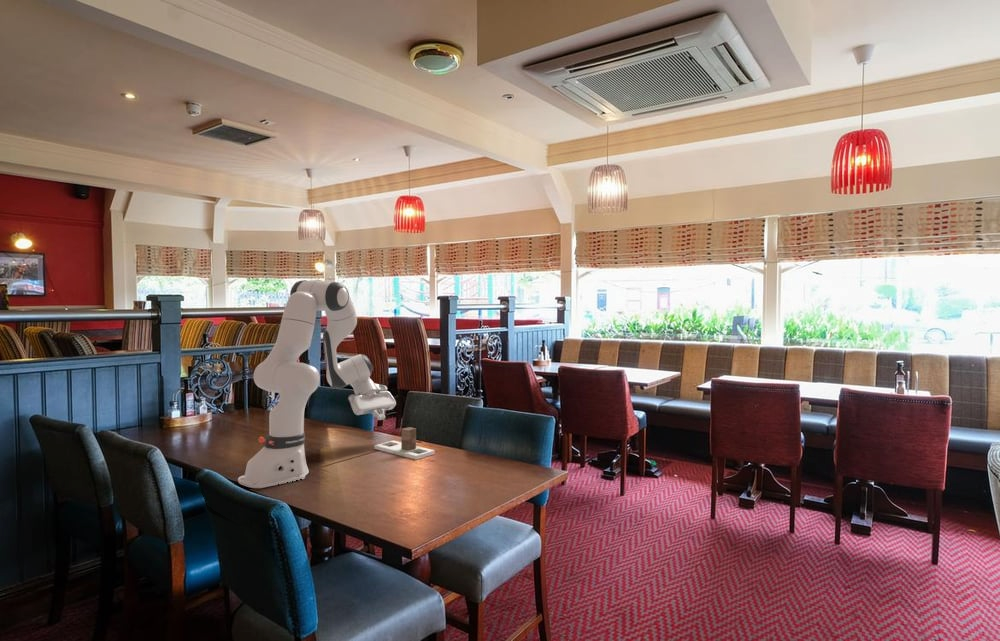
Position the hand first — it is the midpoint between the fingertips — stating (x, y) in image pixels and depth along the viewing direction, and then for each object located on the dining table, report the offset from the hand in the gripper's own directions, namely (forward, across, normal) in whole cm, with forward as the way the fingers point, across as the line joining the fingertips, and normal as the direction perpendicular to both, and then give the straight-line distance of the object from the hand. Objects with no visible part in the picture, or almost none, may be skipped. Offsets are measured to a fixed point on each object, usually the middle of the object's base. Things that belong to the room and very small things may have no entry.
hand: (382, 418), depth 229 cm
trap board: (+17, +1, -1) cm, 17 cm away
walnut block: (+18, +1, -4) cm, 18 cm away
